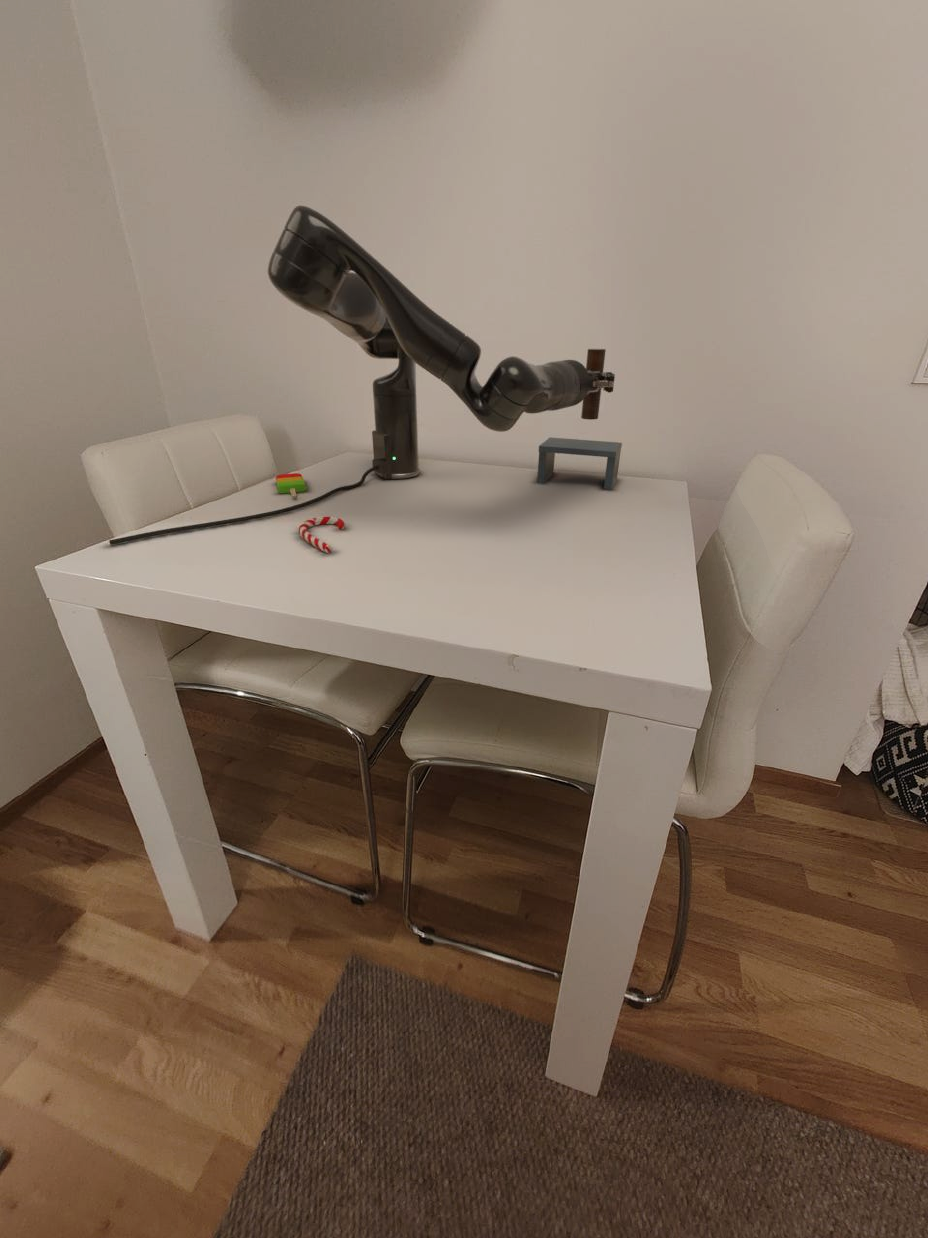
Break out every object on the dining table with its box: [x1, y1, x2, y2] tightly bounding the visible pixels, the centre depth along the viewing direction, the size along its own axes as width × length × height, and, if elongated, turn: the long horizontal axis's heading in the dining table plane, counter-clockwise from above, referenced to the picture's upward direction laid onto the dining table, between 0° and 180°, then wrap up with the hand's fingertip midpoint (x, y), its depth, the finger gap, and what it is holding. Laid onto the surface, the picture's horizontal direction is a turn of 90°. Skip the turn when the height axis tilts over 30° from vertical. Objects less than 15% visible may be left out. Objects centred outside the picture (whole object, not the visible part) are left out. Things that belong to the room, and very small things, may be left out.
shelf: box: [536, 437, 623, 491], centre depth 124 cm, size 10×16×8 cm, turn 69°
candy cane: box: [298, 516, 346, 554], centre depth 93 cm, size 8×1×15 cm
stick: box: [580, 348, 607, 421], centre depth 106 cm, size 3×3×12 cm
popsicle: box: [275, 472, 307, 498], centre depth 117 cm, size 6×15×2 cm, turn 19°
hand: (600, 377), depth 108 cm, fingers closed on stick, 3 cm apart
